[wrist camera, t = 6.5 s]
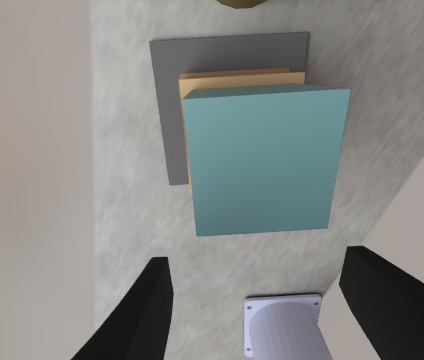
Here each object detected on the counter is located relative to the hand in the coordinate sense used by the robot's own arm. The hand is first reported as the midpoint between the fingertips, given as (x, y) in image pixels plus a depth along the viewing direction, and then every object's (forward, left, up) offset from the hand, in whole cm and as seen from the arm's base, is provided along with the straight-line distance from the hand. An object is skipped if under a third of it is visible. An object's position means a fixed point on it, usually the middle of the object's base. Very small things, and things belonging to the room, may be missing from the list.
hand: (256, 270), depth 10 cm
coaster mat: (+5, 0, -10) cm, 11 cm away
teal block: (+5, 0, -4) cm, 6 cm away
